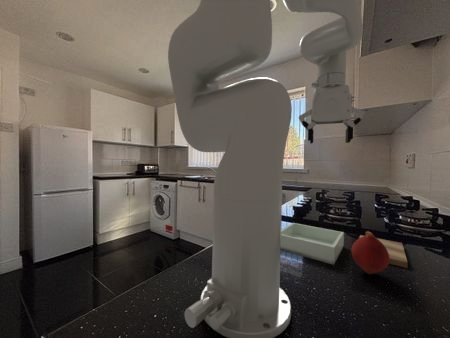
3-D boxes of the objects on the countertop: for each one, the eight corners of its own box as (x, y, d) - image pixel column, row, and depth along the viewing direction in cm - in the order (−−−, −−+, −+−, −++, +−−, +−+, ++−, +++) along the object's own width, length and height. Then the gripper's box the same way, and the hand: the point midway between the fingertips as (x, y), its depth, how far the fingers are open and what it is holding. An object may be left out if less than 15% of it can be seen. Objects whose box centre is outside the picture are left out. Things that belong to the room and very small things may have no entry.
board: (407, 268, 41) (407, 262, 41) (354, 255, 46) (355, 250, 46) (401, 247, 52) (402, 243, 52) (360, 239, 57) (360, 235, 57)
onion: (375, 267, 41) (376, 228, 41) (397, 283, 35) (398, 237, 35) (345, 265, 41) (346, 226, 41) (361, 280, 35) (363, 236, 35)
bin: (333, 264, 41) (334, 247, 41) (274, 247, 49) (274, 233, 49) (343, 246, 52) (343, 232, 52) (292, 234, 60) (293, 222, 60)
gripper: (299, 83, 58) (298, 141, 58) (369, 74, 52) (368, 140, 52) (299, 92, 65) (298, 144, 65) (361, 86, 59) (359, 143, 59)
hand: (329, 142), depth 59 cm, fingers open, 9 cm apart
